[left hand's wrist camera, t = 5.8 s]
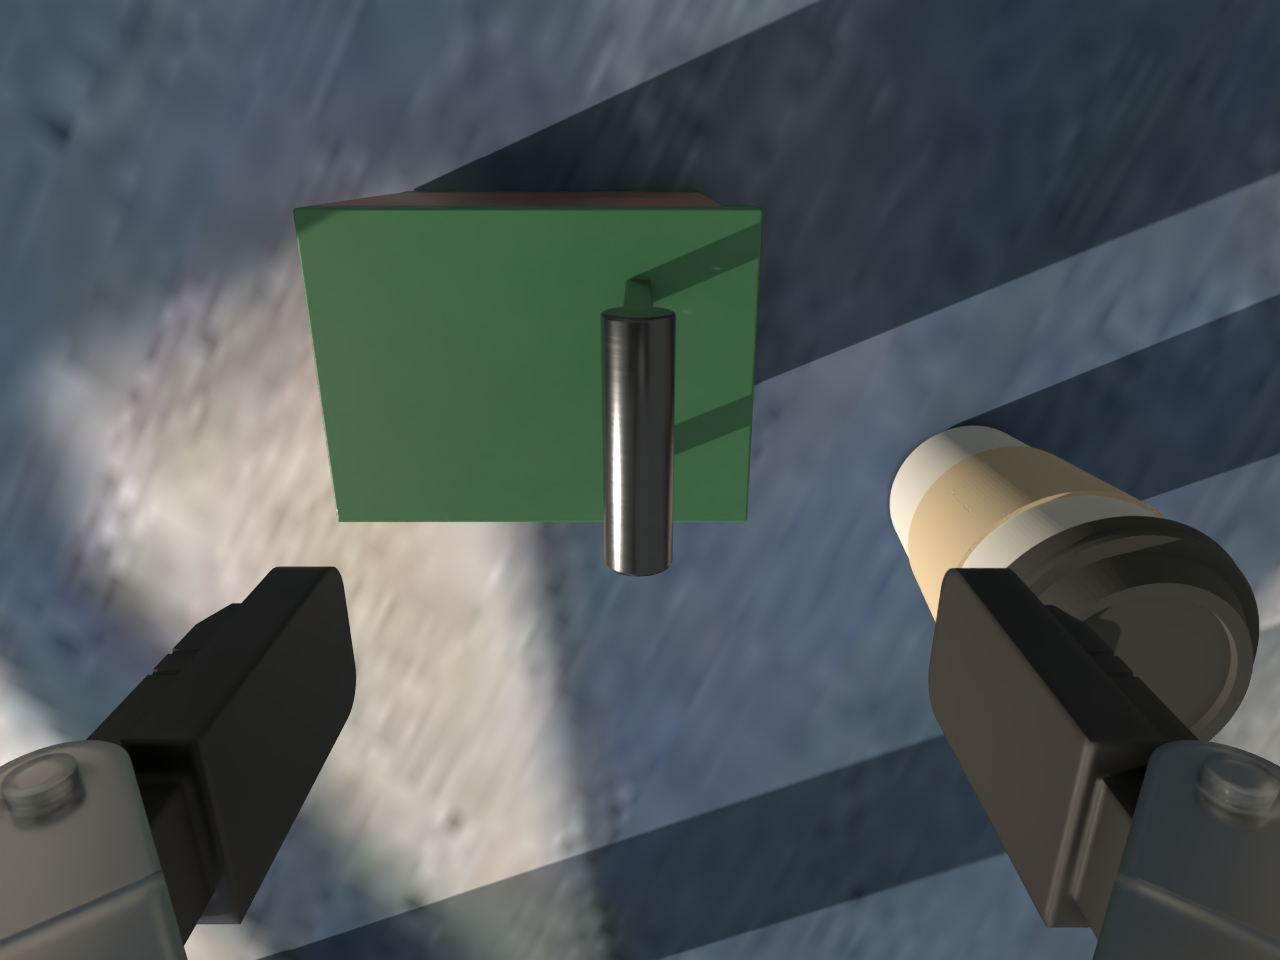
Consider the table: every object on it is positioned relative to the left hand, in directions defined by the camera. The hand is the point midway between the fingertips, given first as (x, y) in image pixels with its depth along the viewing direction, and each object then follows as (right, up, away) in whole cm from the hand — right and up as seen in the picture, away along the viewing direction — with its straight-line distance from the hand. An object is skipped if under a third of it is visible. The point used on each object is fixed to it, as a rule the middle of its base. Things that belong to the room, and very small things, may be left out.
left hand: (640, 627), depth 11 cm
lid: (-3, +5, +14) cm, 15 cm away
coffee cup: (+15, +1, +27) cm, 31 cm away
